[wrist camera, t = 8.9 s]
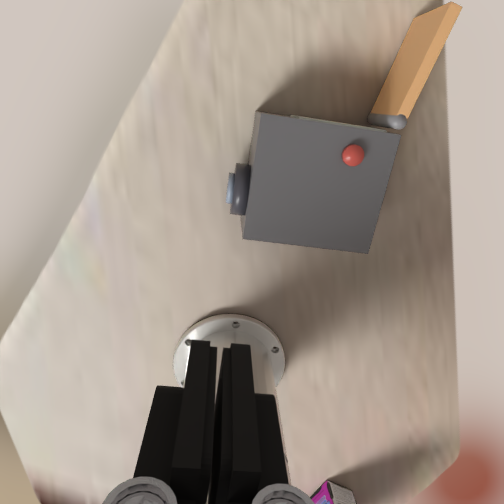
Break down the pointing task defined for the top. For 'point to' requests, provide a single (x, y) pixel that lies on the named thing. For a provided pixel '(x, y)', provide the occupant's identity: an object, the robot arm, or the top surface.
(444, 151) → the top surface
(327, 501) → the candy bar box
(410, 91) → the side door
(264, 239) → the camera body
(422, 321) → the top surface
